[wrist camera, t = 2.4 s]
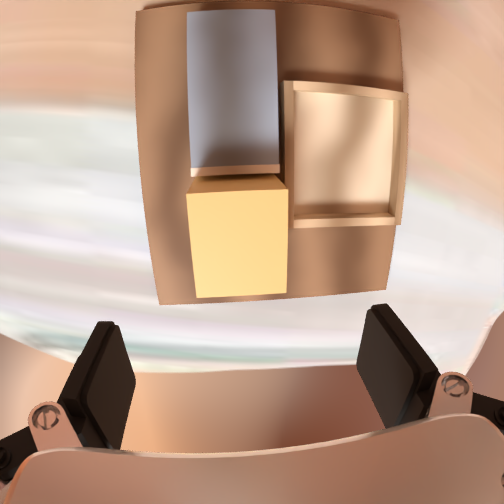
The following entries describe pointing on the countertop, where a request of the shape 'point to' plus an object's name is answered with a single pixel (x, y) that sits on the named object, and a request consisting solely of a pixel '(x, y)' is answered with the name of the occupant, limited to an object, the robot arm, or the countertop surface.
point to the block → (238, 234)
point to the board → (170, 141)
